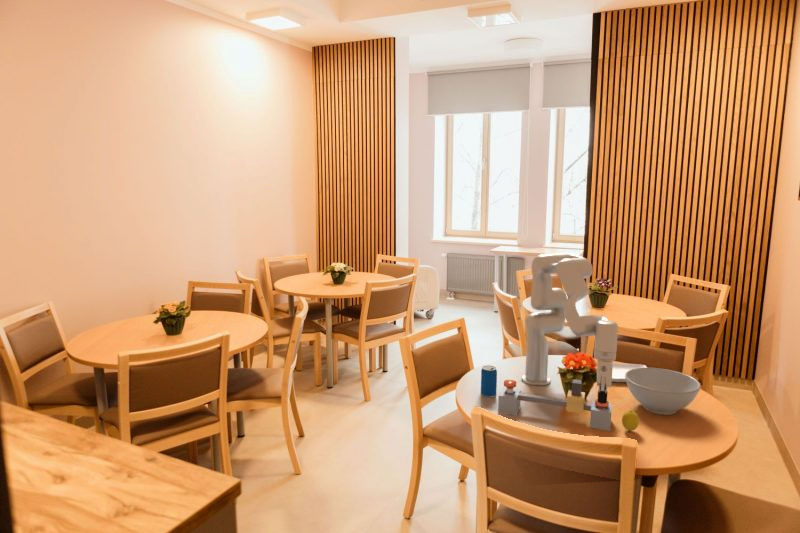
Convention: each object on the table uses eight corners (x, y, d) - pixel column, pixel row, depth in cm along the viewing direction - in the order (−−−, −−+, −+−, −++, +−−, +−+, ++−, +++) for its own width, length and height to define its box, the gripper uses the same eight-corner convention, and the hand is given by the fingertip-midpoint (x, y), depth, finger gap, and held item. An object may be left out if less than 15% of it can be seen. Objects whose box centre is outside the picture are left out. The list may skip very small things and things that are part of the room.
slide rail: (502, 403, 221) (503, 387, 219) (610, 420, 205) (612, 403, 204) (498, 412, 212) (498, 395, 211) (610, 431, 197) (611, 412, 196)
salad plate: (598, 368, 262) (598, 361, 261) (644, 370, 259) (644, 363, 258) (608, 385, 241) (609, 377, 240) (659, 387, 238) (659, 380, 238)
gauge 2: (594, 416, 205) (595, 398, 204) (607, 419, 203) (609, 400, 202) (593, 422, 201) (594, 403, 200) (607, 424, 199) (608, 405, 198)
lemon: (618, 428, 199) (619, 407, 198) (633, 427, 200) (634, 406, 198) (626, 435, 194) (627, 414, 192) (640, 434, 194) (642, 413, 193)
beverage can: (496, 398, 226) (496, 371, 224) (480, 397, 227) (481, 370, 225) (496, 392, 232) (497, 365, 230) (481, 391, 233) (481, 364, 231)
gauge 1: (504, 396, 218) (505, 379, 216) (516, 398, 216) (517, 380, 215) (502, 401, 213) (502, 383, 212) (514, 403, 211) (515, 385, 210)
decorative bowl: (690, 399, 225) (692, 371, 223) (704, 427, 200) (707, 396, 198) (620, 391, 233) (622, 364, 231) (626, 417, 208) (628, 387, 206)
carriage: (567, 404, 209) (569, 377, 207) (584, 407, 207) (585, 379, 205) (566, 411, 203) (567, 383, 202) (583, 413, 201) (584, 385, 199)
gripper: (615, 361, 190) (612, 411, 192) (616, 349, 203) (613, 396, 206) (592, 359, 192) (590, 408, 195) (595, 347, 206) (592, 393, 209)
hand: (602, 401), depth 201 cm, fingers closed
